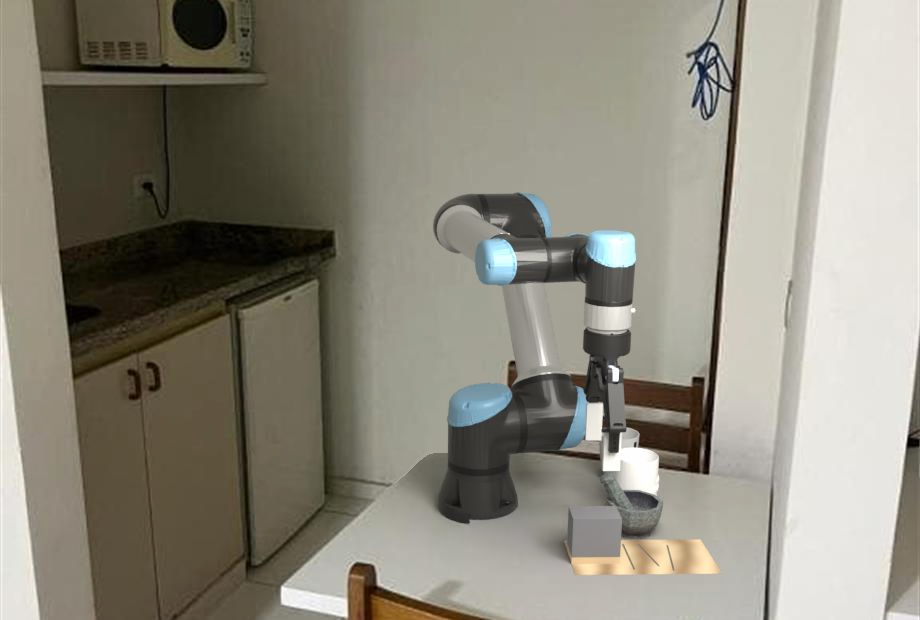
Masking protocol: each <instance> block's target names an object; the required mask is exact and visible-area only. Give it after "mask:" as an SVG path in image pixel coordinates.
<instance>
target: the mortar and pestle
mask: <svg viewBox="0 0 920 620" xmlns="http://www.w3.org/2000/svg"><path fill="white" fill-rule="evenodd" d="M599 481H600V483H601V484H602V485H603V486H604V489H605V491H606V493H607V495H608V497H607V499H606V506H616V507H617V509H618V511H619V514H620V516H621V518H622V530H621V537H622V538H626V539H628V540H644V539H645V538H648V537H650V534H651V532H652V531H654V530H656V529H655V528H657V526H658V524H659V522H660V520H661V516H662V511H663V508H664V507H663V506H664V505H663V504H664V501H663V500H662V499H661V498H660V497H658V495H657V496H656V495H655V494H651V493H648V492H644V491H641V490H622V489H621V487H620V485H619V484H618V482H617V481H616V479H615V474H614V473H612V472H608V473H605V474H602V475H601V476H600V478H599Z"/></svg>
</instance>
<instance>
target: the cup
mask: <svg viewBox="0 0 920 620" xmlns="http://www.w3.org/2000/svg"><path fill="white" fill-rule="evenodd" d="M626 428H627V430H626V432H622V442H621V449H623V448H639V443H640V433H639V431H638V430H637V429H633V428H631V427H627V426H626ZM603 437H604V433H602V439H601V440H598V443H599V445H598V447H599V451H598V452H599V457H600V464H601V466H600V467H602V458H603ZM608 472H612V473H614V471H603V470H602V473H603V474H605V473H608ZM603 474H602V475H603Z"/></svg>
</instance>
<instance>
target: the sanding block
mask: <svg viewBox="0 0 920 620" xmlns="http://www.w3.org/2000/svg"><path fill="white" fill-rule="evenodd" d="M621 530H622V518H621V516H620V514H619V511H618V509H617V507H616V506H607V505H569V506H568V513H567V536H566V537H567V539H566V541H567V549H566V553H567V554H568V557H569V561H570V564H571V565H572V564H620V549H621V540H622V536H621Z"/></svg>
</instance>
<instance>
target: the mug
mask: <svg viewBox="0 0 920 620" xmlns="http://www.w3.org/2000/svg"><path fill="white" fill-rule="evenodd" d="M659 461H660V457H659V454H657V452H654V451H652V450H650V449H647V448H641V447H638V448H623V449H621V461H620V471H614V474H615V479H616V481H617V482H618V484H619V485H620V487H621V489H622V490H641V491H644V492H648V493H651V494H655V495H656V496H657V497H658V491H659V485H660V484H659V482H660V475H659V467H660V465H659V464H660V463H659Z"/></svg>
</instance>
